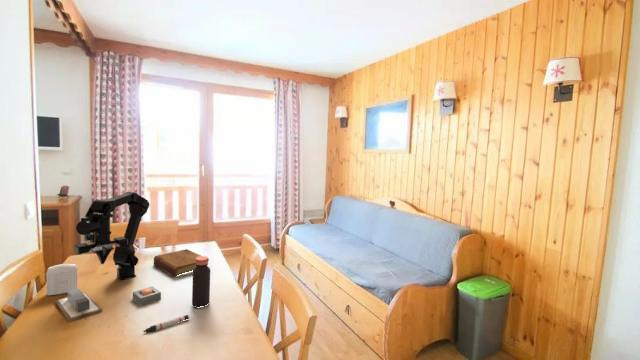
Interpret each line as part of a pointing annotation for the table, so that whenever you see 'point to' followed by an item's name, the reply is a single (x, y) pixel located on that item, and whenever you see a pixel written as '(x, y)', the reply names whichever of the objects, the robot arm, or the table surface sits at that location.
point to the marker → (166, 324)
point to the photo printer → (61, 278)
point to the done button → (146, 292)
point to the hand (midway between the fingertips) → (102, 263)
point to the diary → (177, 262)
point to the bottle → (201, 282)
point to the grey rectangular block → (78, 300)
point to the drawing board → (71, 311)
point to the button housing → (146, 296)
